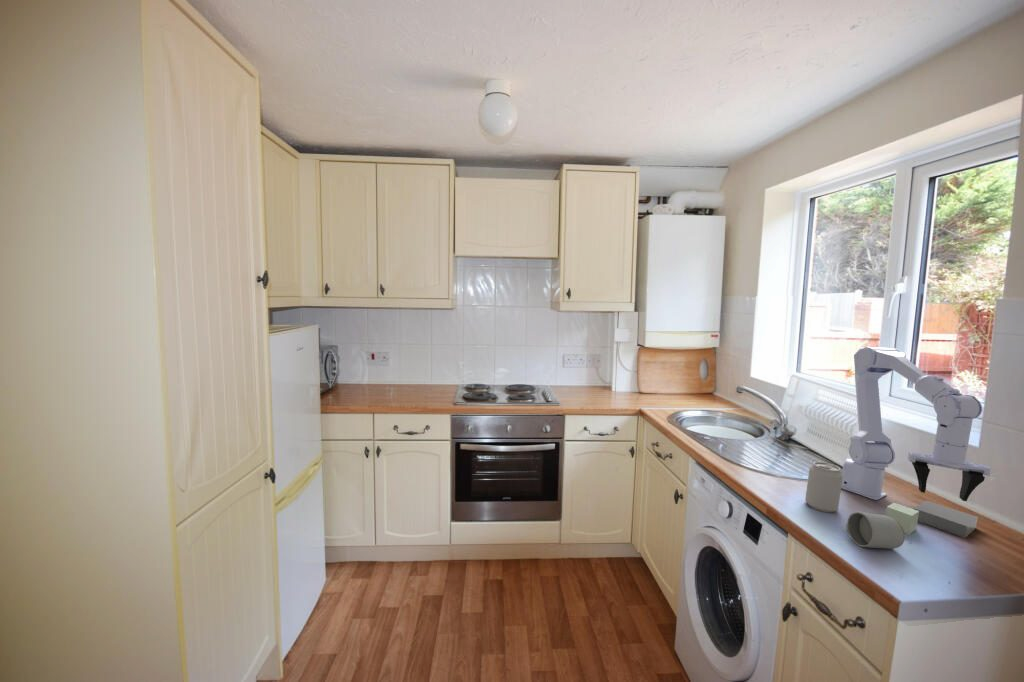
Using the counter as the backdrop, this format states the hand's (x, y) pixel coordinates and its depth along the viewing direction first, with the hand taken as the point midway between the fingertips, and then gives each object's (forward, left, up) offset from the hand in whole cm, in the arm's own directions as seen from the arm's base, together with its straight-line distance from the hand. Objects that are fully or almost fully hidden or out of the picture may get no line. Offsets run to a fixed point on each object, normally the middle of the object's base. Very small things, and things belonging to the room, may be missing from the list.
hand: (941, 495), depth 109 cm
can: (-20, -13, -10) cm, 26 cm away
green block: (-5, -6, -10) cm, 13 cm away
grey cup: (-6, -23, -10) cm, 26 cm away
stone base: (0, +8, -10) cm, 12 cm away
